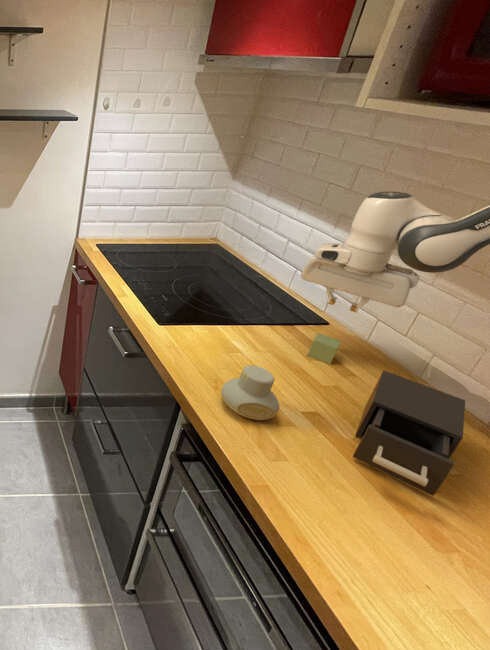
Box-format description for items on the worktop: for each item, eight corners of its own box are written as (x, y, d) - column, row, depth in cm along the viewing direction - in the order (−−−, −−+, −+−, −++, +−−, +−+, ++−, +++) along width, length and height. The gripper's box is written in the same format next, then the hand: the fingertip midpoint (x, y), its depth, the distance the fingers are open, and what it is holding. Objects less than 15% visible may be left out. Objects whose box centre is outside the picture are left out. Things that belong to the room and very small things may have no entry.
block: (334, 356, 119) (341, 341, 117) (330, 364, 116) (337, 348, 113) (311, 348, 122) (318, 332, 120) (307, 355, 119) (313, 339, 117)
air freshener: (223, 416, 98) (236, 380, 94) (214, 391, 105) (225, 357, 101) (279, 427, 95) (295, 390, 91) (266, 401, 103) (280, 366, 98)
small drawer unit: (438, 474, 85) (463, 437, 81) (354, 436, 93) (373, 400, 89) (443, 435, 94) (465, 400, 90) (366, 403, 102) (383, 370, 99)
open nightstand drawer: (431, 513, 77) (452, 481, 74) (347, 471, 84) (364, 440, 81) (438, 455, 88) (457, 425, 85) (364, 422, 96) (379, 394, 93)
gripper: (424, 268, 102) (398, 319, 108) (315, 242, 115) (297, 288, 121) (421, 276, 98) (394, 329, 104) (309, 248, 112) (291, 296, 117)
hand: (341, 307), depth 112 cm, fingers open, 3 cm apart
